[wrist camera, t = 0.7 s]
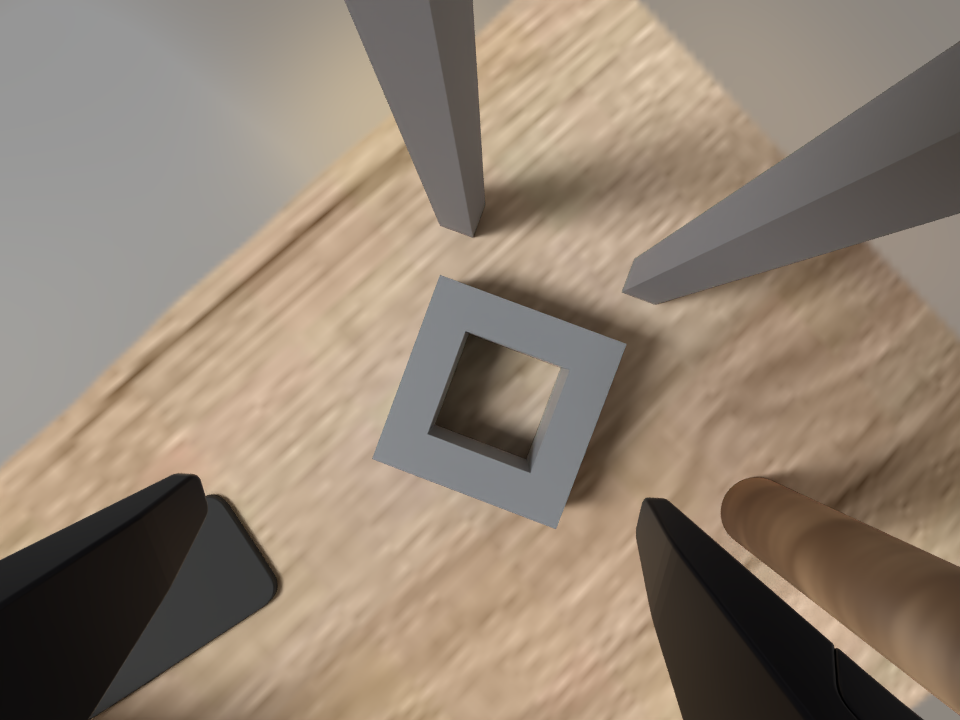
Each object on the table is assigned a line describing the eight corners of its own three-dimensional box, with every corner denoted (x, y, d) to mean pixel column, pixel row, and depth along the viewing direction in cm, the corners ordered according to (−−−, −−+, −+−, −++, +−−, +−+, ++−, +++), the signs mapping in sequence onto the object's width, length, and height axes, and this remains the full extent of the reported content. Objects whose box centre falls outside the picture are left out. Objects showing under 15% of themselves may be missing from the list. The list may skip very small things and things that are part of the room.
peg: (777, 558, 25) (1072, 771, 12) (710, 532, 26) (933, 718, 13) (803, 492, 25) (1128, 638, 12) (736, 467, 25) (987, 586, 12)
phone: (283, 595, 26) (72, 732, 26) (289, 588, 27) (84, 721, 27) (213, 487, 26) (3, 626, 26) (221, 483, 27) (18, 618, 27)
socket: (548, 508, 26) (556, 529, 23) (386, 446, 26) (372, 459, 23) (611, 345, 26) (626, 344, 23) (446, 284, 26) (440, 275, 23)
